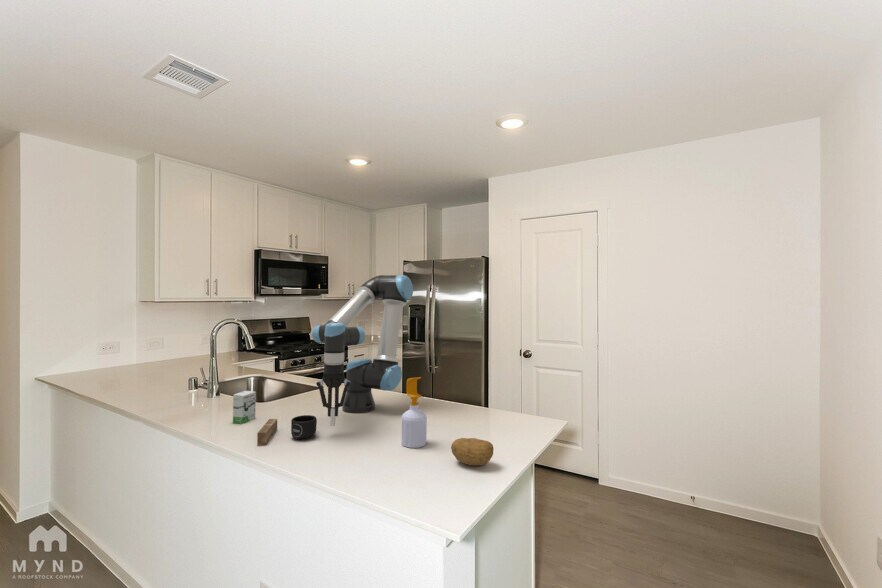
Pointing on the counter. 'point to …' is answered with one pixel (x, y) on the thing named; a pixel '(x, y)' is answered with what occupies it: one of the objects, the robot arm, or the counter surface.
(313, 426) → the mug
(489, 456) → the potato
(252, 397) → the ink box
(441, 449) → the counter surface
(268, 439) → the long brown box
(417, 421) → the soap bottle
